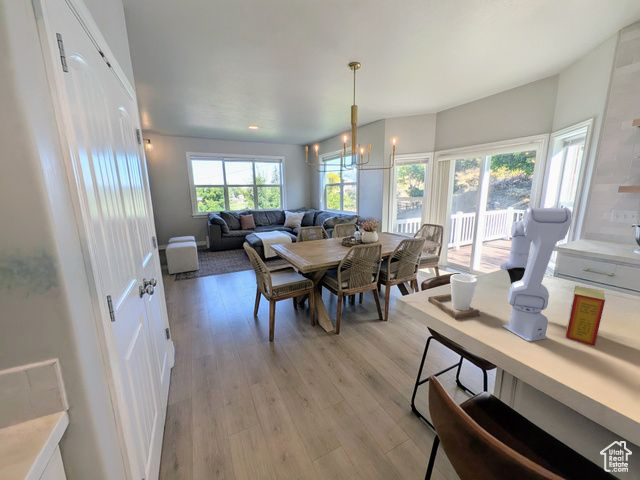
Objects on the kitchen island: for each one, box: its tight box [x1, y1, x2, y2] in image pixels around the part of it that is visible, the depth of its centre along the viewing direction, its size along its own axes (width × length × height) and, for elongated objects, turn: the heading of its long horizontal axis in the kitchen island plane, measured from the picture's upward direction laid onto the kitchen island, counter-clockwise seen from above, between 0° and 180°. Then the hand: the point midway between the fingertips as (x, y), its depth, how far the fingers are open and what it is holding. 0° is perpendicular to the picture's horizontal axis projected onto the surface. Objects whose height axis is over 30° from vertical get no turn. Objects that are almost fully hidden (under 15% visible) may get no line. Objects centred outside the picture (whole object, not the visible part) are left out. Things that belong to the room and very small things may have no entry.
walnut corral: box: [427, 293, 481, 320], centre depth 105 cm, size 16×11×2 cm
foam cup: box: [449, 273, 478, 312], centre depth 105 cm, size 10×9×13 cm
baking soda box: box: [565, 285, 606, 347], centre depth 83 cm, size 10×6×16 cm
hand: (514, 284), depth 102 cm, fingers closed
